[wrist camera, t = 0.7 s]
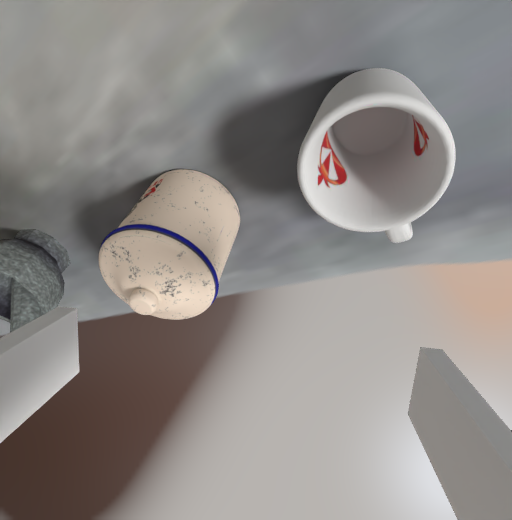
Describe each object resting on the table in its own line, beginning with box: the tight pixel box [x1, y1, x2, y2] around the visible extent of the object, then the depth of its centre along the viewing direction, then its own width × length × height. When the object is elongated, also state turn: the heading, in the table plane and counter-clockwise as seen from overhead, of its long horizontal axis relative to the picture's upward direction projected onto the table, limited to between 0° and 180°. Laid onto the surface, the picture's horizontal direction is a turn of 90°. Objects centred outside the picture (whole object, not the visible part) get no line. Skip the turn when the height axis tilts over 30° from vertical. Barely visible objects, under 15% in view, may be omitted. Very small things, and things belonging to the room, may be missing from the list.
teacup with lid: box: [99, 169, 240, 319], centre depth 31 cm, size 12×9×12 cm
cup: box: [297, 68, 455, 243], centre depth 23 cm, size 11×8×8 cm
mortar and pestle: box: [0, 229, 70, 333], centre depth 38 cm, size 11×9×12 cm
